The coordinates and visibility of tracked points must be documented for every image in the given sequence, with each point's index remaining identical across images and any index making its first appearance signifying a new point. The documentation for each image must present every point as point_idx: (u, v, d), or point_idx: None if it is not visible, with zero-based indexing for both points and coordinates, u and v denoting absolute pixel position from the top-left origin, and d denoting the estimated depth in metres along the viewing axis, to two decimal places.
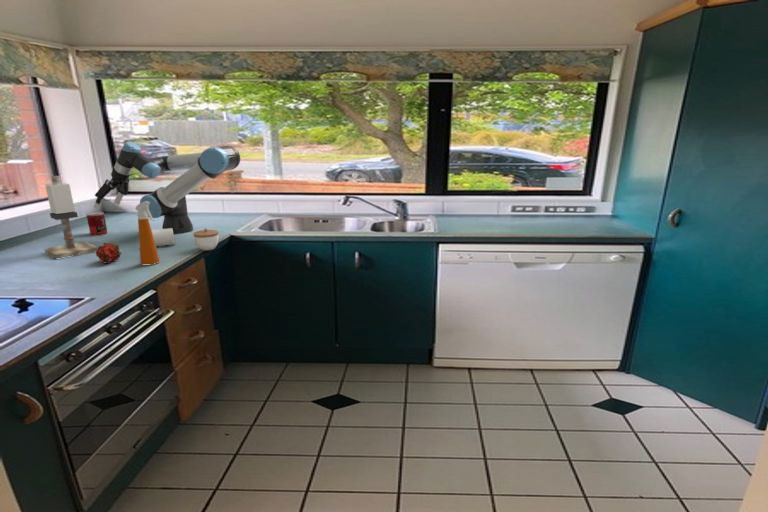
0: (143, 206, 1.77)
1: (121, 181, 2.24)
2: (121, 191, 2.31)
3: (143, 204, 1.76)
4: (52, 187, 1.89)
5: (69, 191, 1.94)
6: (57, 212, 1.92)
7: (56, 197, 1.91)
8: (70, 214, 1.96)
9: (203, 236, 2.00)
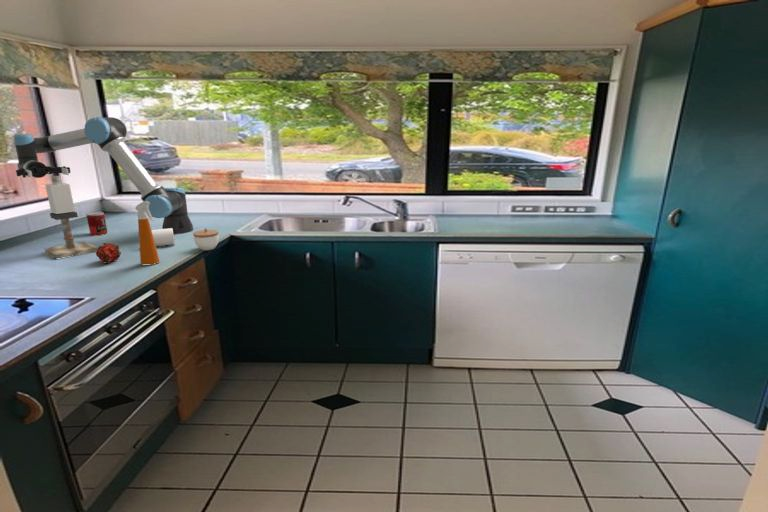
0: (143, 206, 1.77)
1: None
2: (59, 170, 2.08)
3: (143, 204, 1.76)
4: (52, 187, 1.89)
5: (69, 191, 1.94)
6: (57, 212, 1.92)
7: (56, 197, 1.91)
8: (70, 214, 1.96)
9: (203, 236, 2.00)
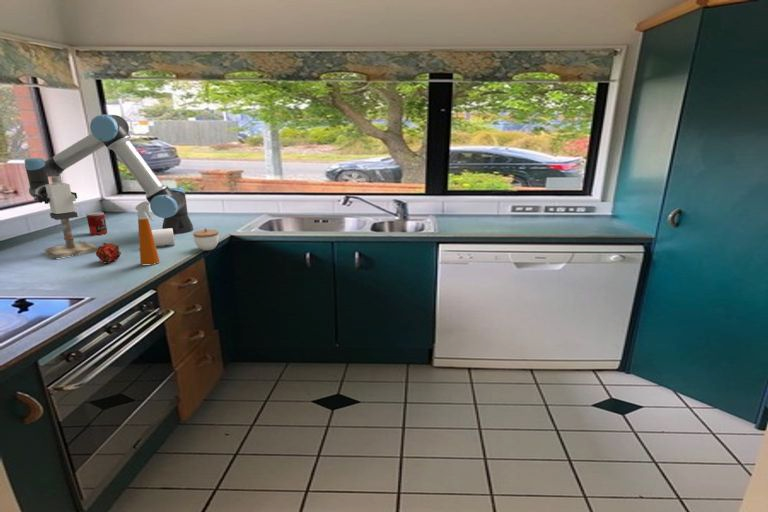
0: (143, 206, 1.77)
1: None
2: None
3: (143, 204, 1.76)
4: (52, 187, 1.89)
5: (69, 191, 1.94)
6: (57, 212, 1.92)
7: (56, 197, 1.91)
8: (70, 214, 1.96)
9: (203, 236, 2.00)
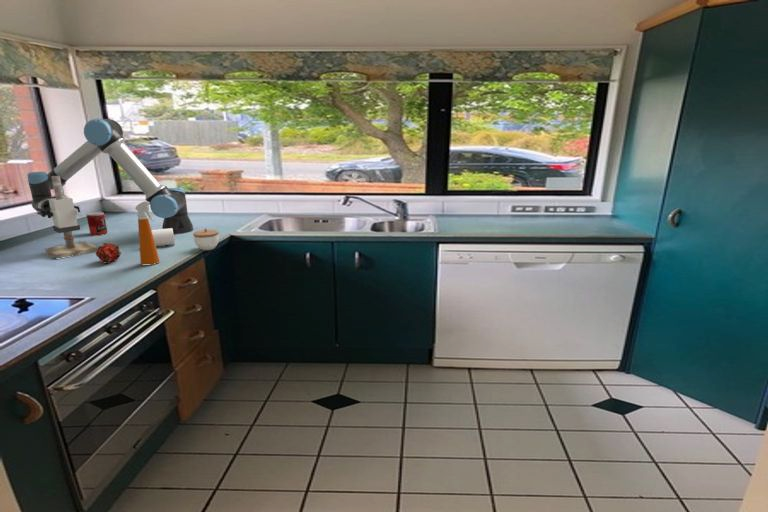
0: (143, 206, 1.77)
1: None
2: None
3: (143, 204, 1.76)
4: (55, 202, 1.91)
5: (72, 205, 1.96)
6: (60, 226, 1.94)
7: (59, 211, 1.93)
8: (73, 227, 1.97)
9: (203, 236, 2.00)
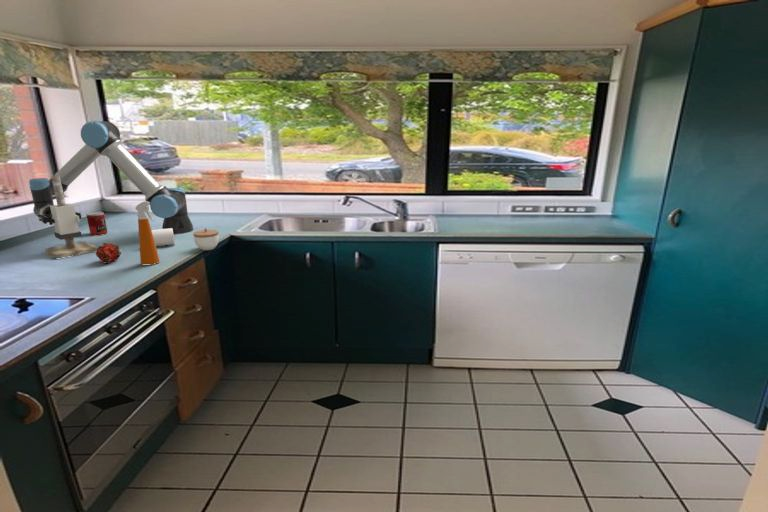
0: (143, 206, 1.77)
1: None
2: None
3: (143, 204, 1.76)
4: (57, 209, 1.92)
5: (73, 212, 1.97)
6: (62, 233, 1.95)
7: (61, 218, 1.94)
8: (74, 233, 1.98)
9: (203, 236, 2.00)
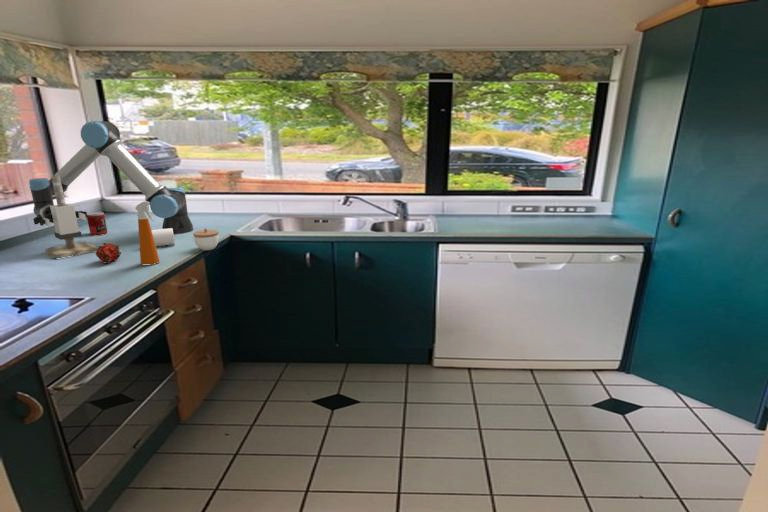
0: (143, 206, 1.77)
1: None
2: (76, 215, 2.05)
3: (143, 204, 1.76)
4: (57, 209, 1.92)
5: (73, 212, 1.97)
6: (62, 233, 1.95)
7: (61, 218, 1.94)
8: (74, 234, 1.98)
9: (203, 236, 2.00)
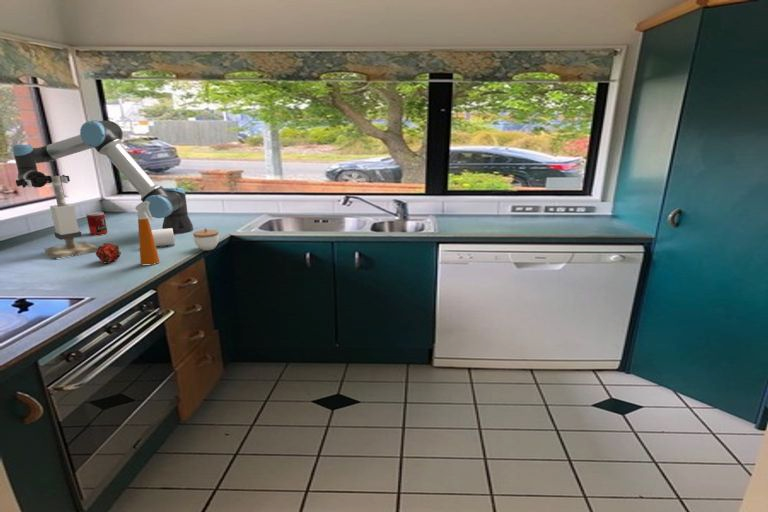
0: (143, 206, 1.77)
1: None
2: None
3: (143, 204, 1.76)
4: (57, 209, 1.92)
5: (73, 212, 1.97)
6: (62, 233, 1.95)
7: (61, 218, 1.94)
8: (74, 234, 1.98)
9: (203, 236, 2.00)
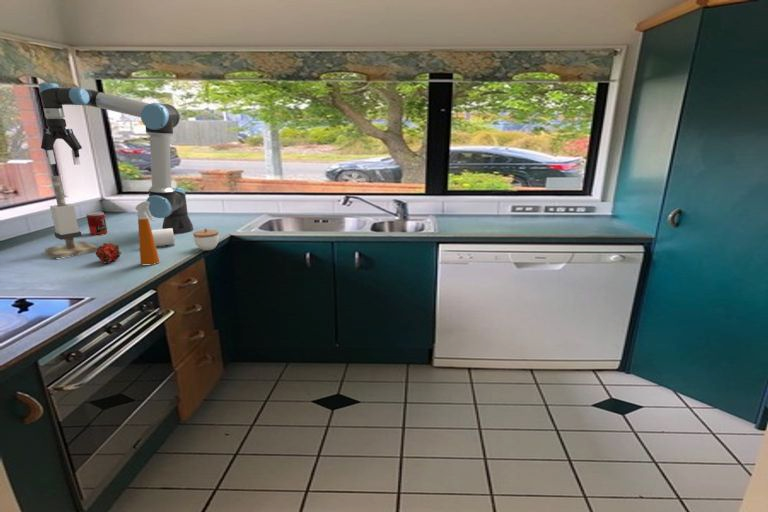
0: (143, 206, 1.77)
1: None
2: (50, 147, 2.15)
3: (143, 204, 1.76)
4: (57, 209, 1.92)
5: (73, 212, 1.97)
6: (62, 233, 1.95)
7: (61, 218, 1.94)
8: (74, 234, 1.98)
9: (203, 236, 2.00)
